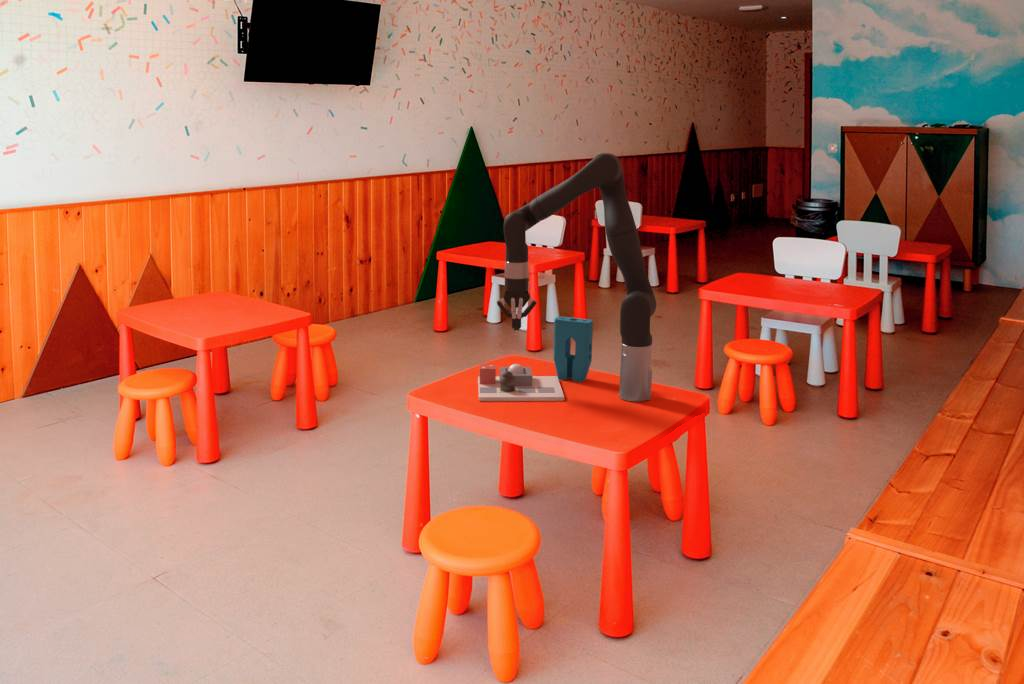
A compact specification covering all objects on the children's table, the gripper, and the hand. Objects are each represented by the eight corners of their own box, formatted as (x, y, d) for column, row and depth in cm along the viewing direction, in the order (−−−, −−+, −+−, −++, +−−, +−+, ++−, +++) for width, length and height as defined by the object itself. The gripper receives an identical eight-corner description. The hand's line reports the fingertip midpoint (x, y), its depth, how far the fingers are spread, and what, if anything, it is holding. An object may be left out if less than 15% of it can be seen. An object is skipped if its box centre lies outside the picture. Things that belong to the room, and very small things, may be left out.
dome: (523, 377, 293) (524, 361, 292) (524, 382, 288) (525, 366, 286) (506, 377, 293) (506, 361, 292) (507, 382, 287) (507, 366, 286)
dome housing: (530, 377, 296) (530, 366, 295) (532, 386, 286) (532, 375, 285) (499, 377, 295) (499, 366, 294) (500, 386, 285) (500, 375, 285)
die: (495, 379, 293) (495, 364, 291) (495, 384, 288) (495, 368, 286) (479, 379, 292) (479, 364, 291) (479, 384, 287) (479, 368, 286)
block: (591, 379, 298) (593, 320, 293) (586, 383, 294) (588, 323, 289) (557, 374, 303) (559, 316, 298) (552, 378, 299) (553, 319, 294)
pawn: (514, 387, 284) (514, 369, 282) (514, 392, 280) (515, 373, 278) (500, 387, 284) (500, 369, 282) (500, 392, 279) (500, 373, 278)
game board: (557, 379, 297) (557, 375, 297) (564, 400, 276) (564, 396, 276) (477, 379, 296) (477, 376, 296) (478, 401, 275) (478, 396, 274)
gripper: (537, 273, 286) (536, 326, 290) (495, 273, 285) (495, 327, 289) (538, 277, 279) (538, 332, 283) (495, 277, 278) (495, 332, 282)
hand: (516, 329), depth 286 cm, fingers closed
